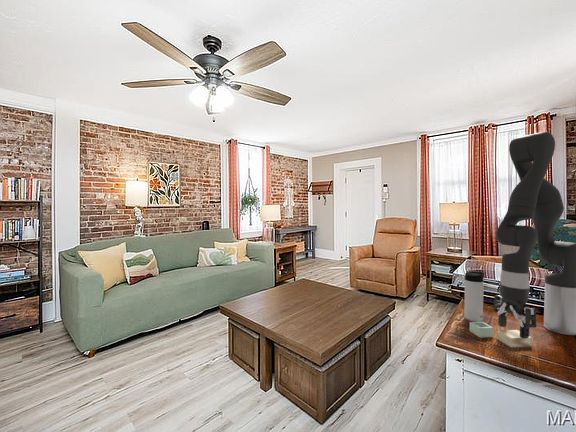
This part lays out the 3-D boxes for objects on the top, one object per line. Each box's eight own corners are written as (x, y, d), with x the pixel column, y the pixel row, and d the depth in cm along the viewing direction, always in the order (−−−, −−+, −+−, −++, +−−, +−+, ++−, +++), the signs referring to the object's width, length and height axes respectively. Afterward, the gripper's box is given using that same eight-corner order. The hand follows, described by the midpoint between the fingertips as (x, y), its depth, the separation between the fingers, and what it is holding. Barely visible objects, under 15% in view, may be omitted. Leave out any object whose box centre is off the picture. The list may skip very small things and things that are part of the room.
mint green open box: (482, 332, 102) (482, 321, 102) (493, 338, 97) (493, 327, 97) (469, 332, 102) (469, 322, 101) (479, 339, 97) (479, 328, 96)
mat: (516, 339, 96) (517, 337, 96) (534, 348, 90) (534, 347, 90) (494, 339, 96) (494, 338, 96) (510, 349, 89) (510, 347, 89)
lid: (516, 338, 96) (517, 329, 96) (531, 346, 90) (531, 337, 90) (497, 338, 95) (497, 330, 95) (510, 347, 90) (510, 338, 90)
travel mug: (486, 324, 108) (487, 274, 107) (468, 323, 109) (469, 273, 109) (479, 317, 114) (480, 270, 113) (461, 316, 116) (462, 269, 115)
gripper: (545, 291, 85) (543, 342, 86) (507, 278, 99) (506, 322, 100) (522, 291, 85) (520, 342, 85) (487, 278, 99) (485, 323, 100)
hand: (512, 331), depth 93 cm, fingers open, 8 cm apart
